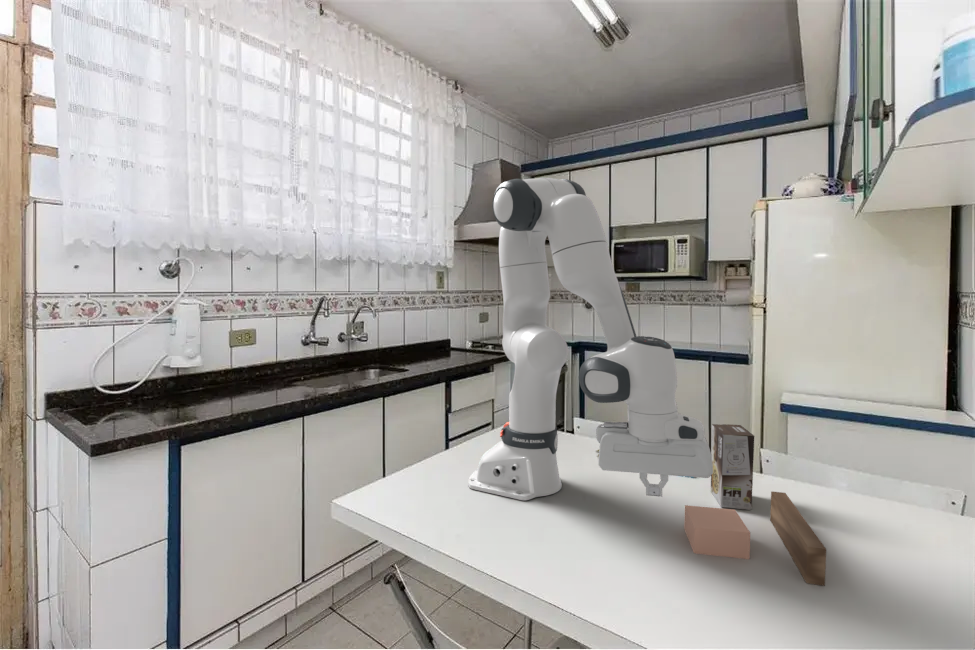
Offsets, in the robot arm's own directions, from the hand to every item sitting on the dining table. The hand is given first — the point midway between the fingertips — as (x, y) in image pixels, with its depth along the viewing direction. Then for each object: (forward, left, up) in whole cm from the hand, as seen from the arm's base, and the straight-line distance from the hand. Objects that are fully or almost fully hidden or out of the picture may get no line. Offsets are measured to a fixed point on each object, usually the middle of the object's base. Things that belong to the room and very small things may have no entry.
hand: (654, 494), depth 90 cm
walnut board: (+24, +3, -8) cm, 25 cm away
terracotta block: (+11, +1, -8) cm, 14 cm away
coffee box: (+17, +22, -8) cm, 28 cm away
